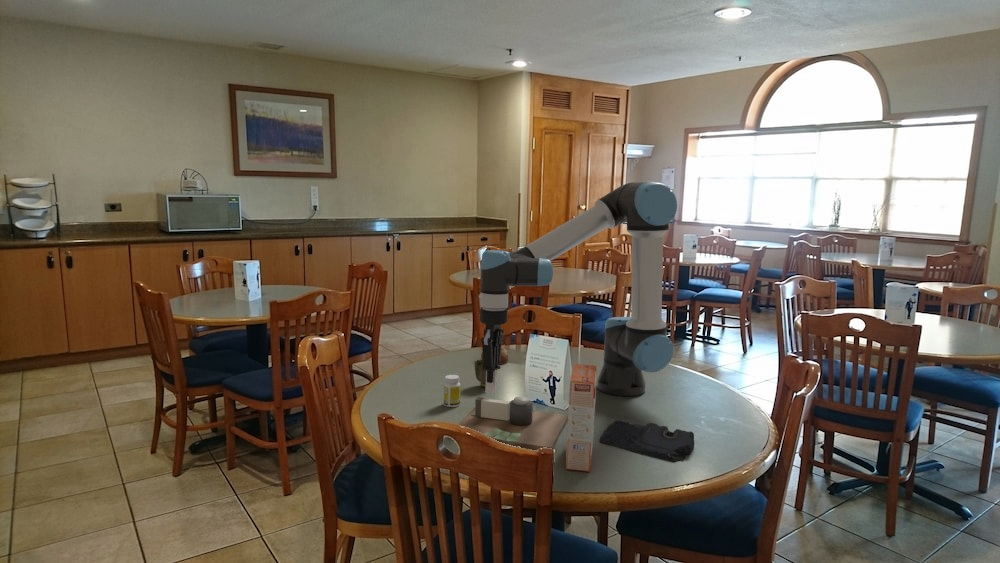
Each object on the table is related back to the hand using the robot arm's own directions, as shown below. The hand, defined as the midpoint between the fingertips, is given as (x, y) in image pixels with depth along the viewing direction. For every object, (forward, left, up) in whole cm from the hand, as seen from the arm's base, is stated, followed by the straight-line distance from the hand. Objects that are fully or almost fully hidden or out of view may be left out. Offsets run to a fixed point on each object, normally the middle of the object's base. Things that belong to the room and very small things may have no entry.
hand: (490, 392), depth 165 cm
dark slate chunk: (-42, +4, -7) cm, 43 cm away
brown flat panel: (-8, +7, -7) cm, 12 cm away
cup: (+9, -24, -7) cm, 26 cm away
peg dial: (-5, +4, -5) cm, 8 cm away
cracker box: (-28, +18, -7) cm, 34 cm away
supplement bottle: (+13, -5, -7) cm, 16 cm away
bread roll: (+15, -53, -7) cm, 55 cm away
